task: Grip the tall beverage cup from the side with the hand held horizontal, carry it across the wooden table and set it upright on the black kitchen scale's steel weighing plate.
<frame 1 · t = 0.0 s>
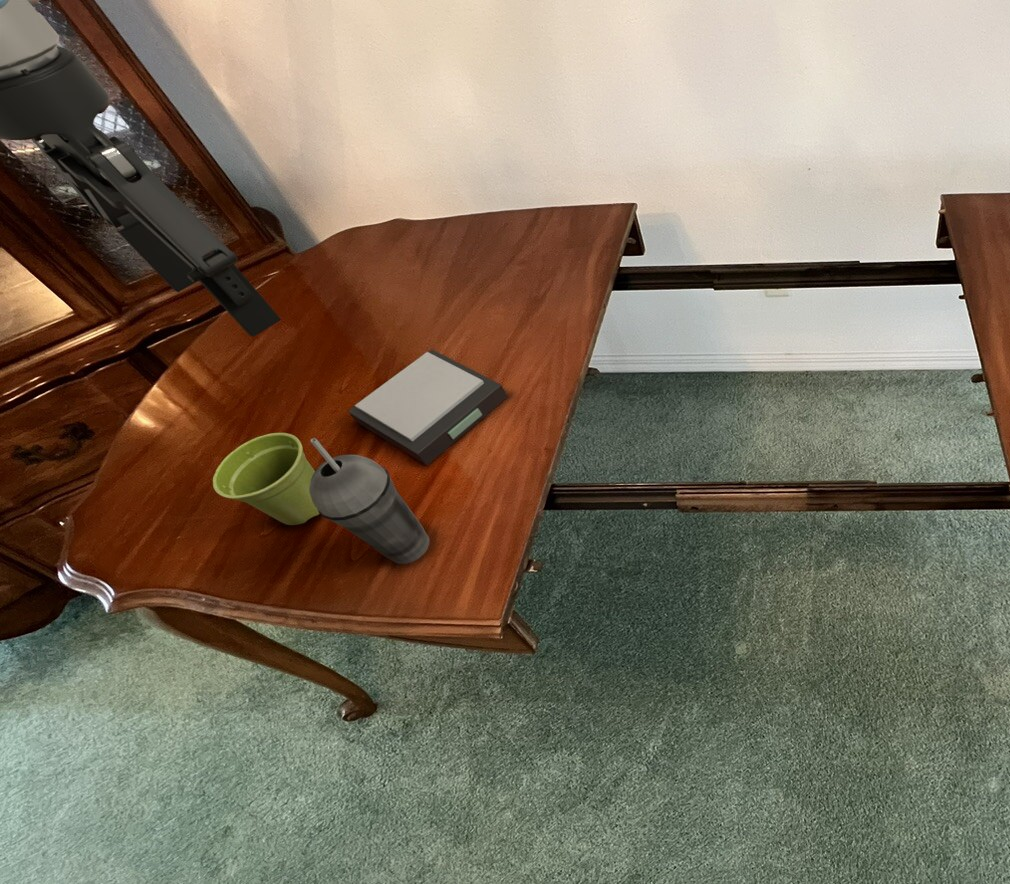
hand: (226, 304, 63), 29 cm above the table, tool pointing down, fingers open, 13 cm apart
beverage cup: (410, 548, 79), on the table
plant pot: (306, 506, 84), on the table
scale: (433, 410, 93), on the table
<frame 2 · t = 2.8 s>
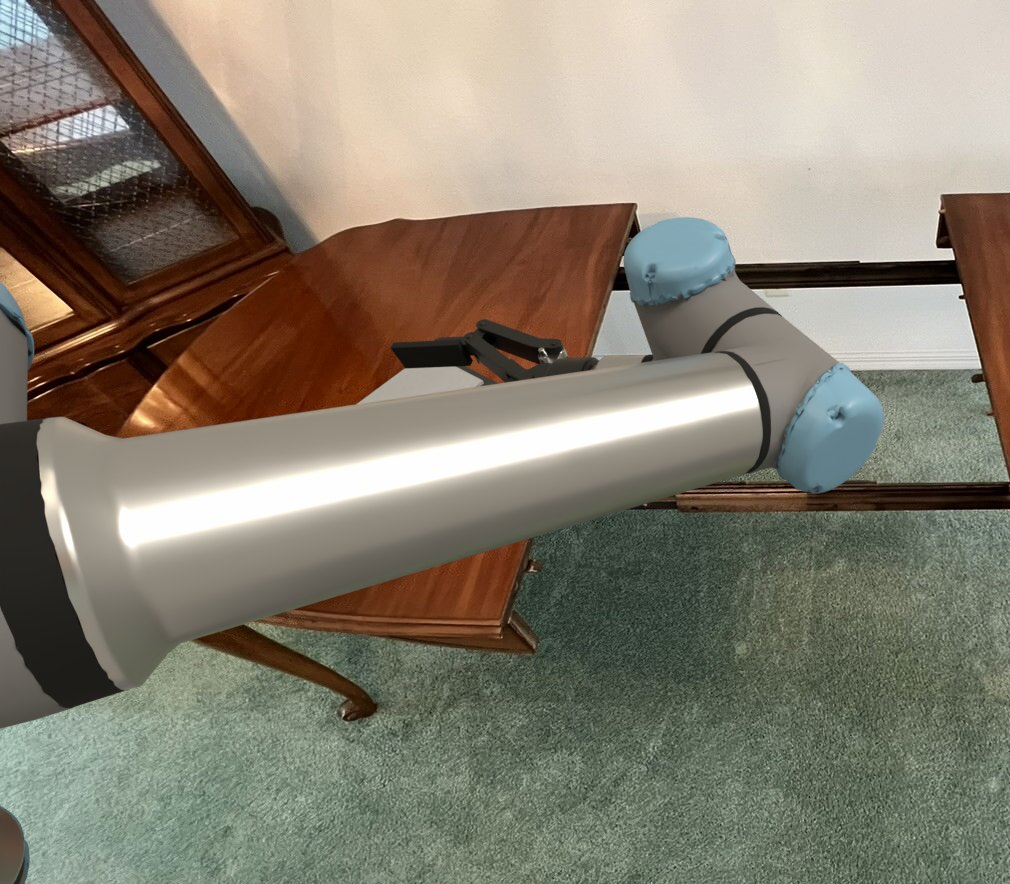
hand: (368, 408, 59), 24 cm above the table, tool horizontal, fingers open, 13 cm apart
nothing on the table moved.
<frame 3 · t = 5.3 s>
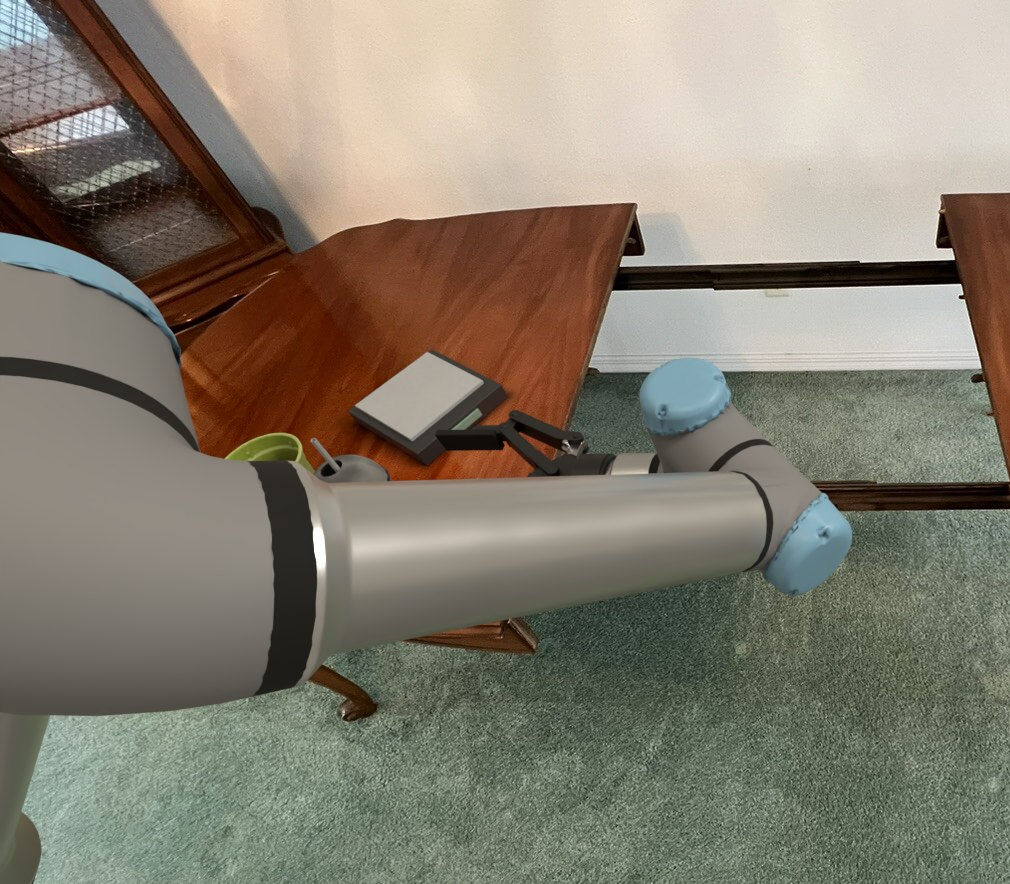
hand: (416, 490, 69), 11 cm above the table, tool horizontal, fingers open, 13 cm apart
nothing on the table moved.
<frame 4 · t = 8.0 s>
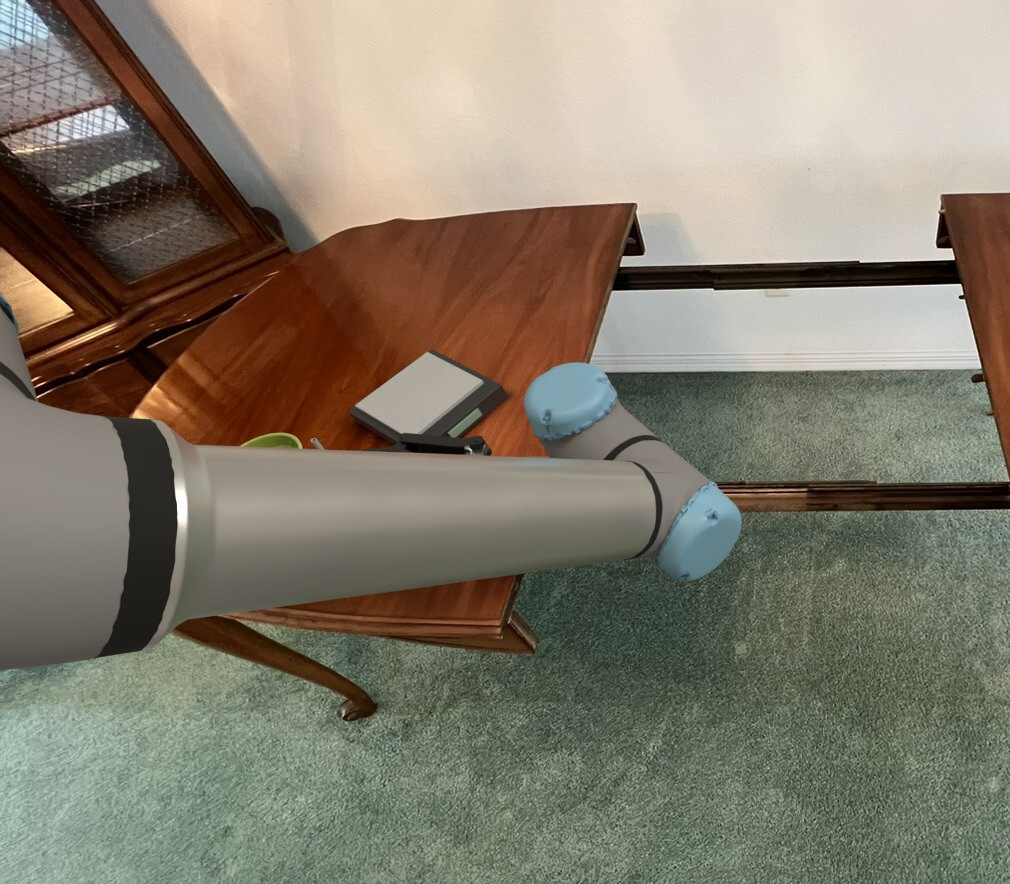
hand: (312, 493, 70), 11 cm above the table, tool horizontal, fingers closed on beverage cup, 7 cm apart
beverage cup: (410, 548, 79), on the table, touching gripper
everything else where it was.
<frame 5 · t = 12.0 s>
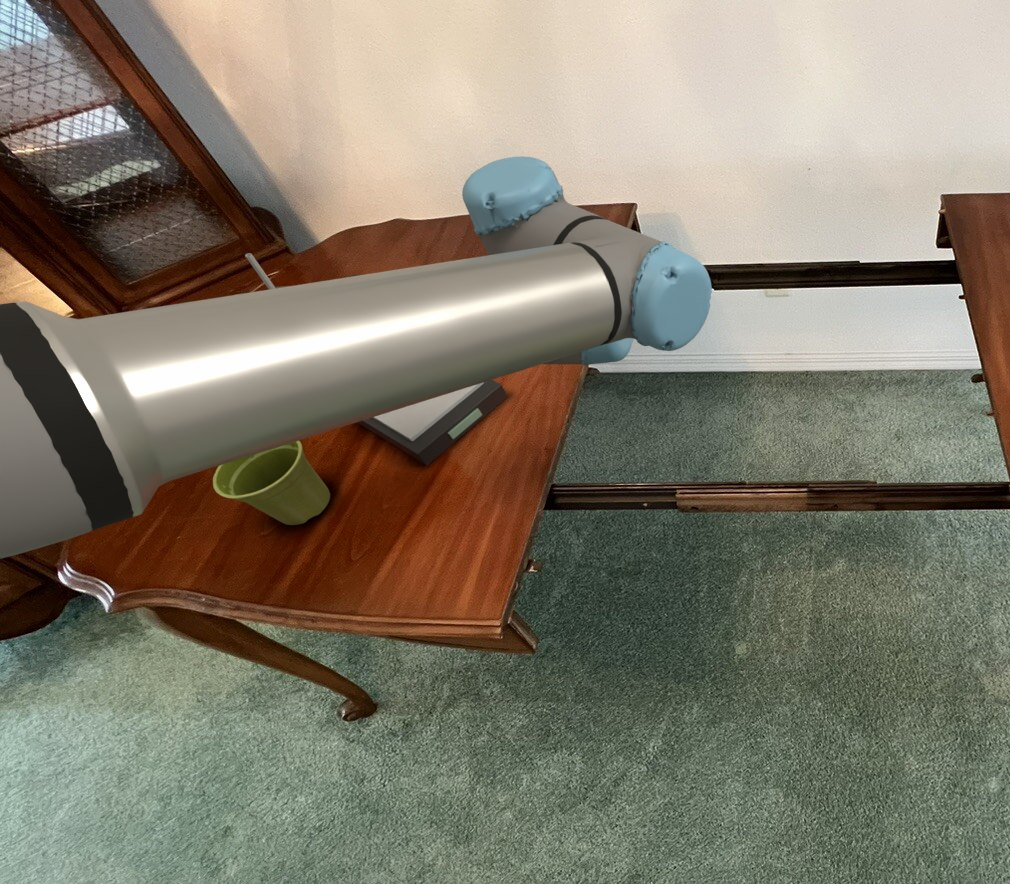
hand: (254, 331, 67), 24 cm above the table, tool horizontal, fingers closed on beverage cup, 7 cm apart
beverage cup: (364, 405, 75), point 13 cm above the table, touching gripper
everything else where it was.
when the fingers open (14 cm above the table, at t = 16.3 s): beverage cup stays where it is, resting on scale.
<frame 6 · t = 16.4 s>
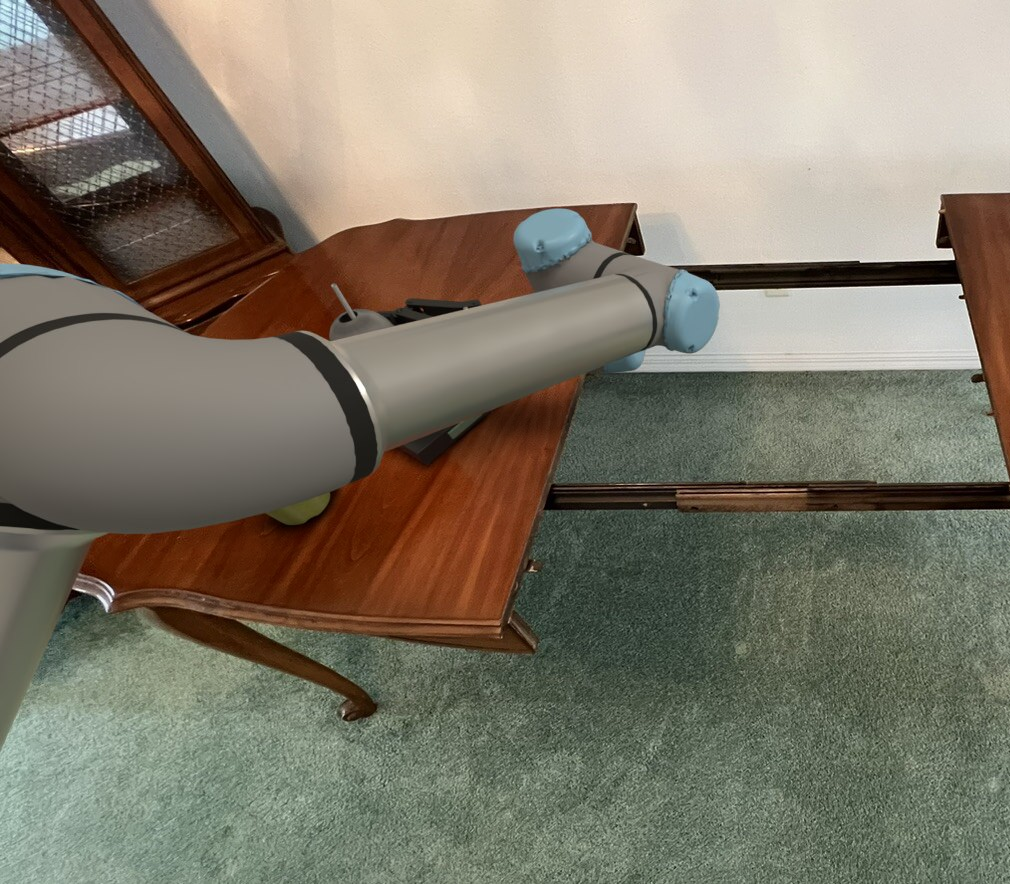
hand: (331, 346, 81), 14 cm above the table, tool horizontal, fingers open, 7 cm apart
beverage cup: (416, 407, 89), point 3 cm above the table, touching scale
everything else where it was.
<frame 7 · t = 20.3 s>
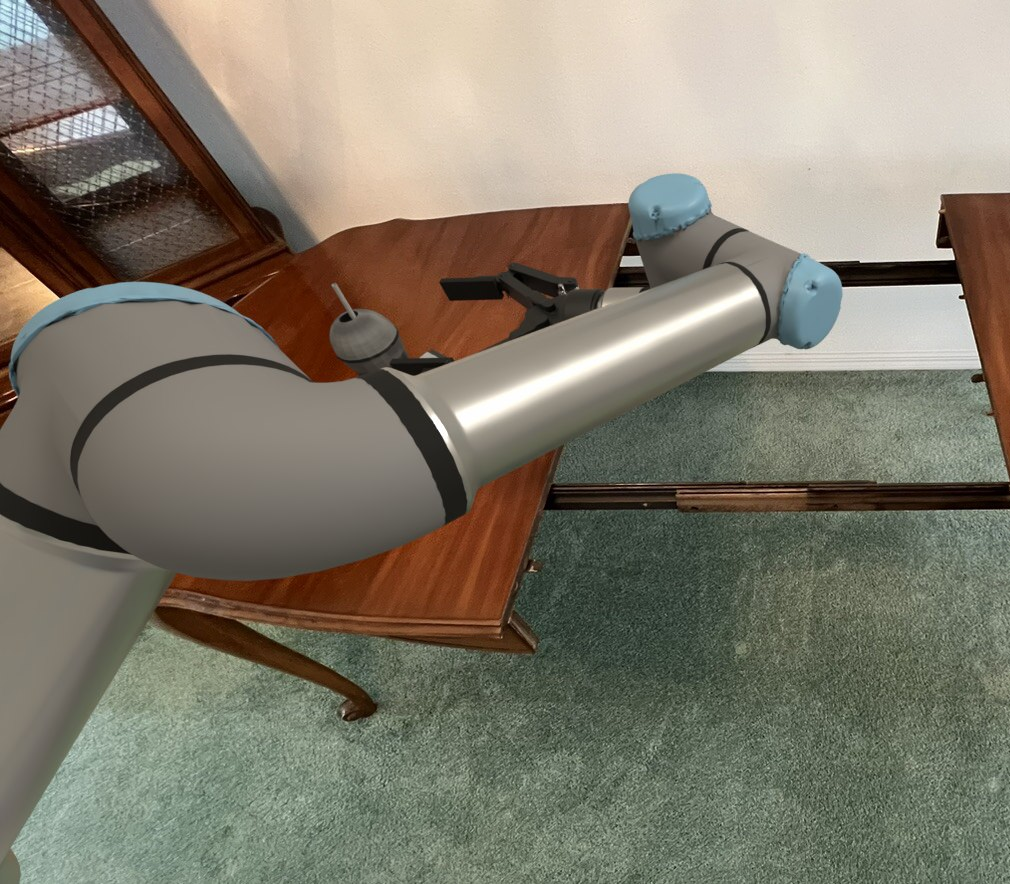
hand: (422, 327, 75), 19 cm above the table, tool horizontal, fingers open, 13 cm apart
nothing on the table moved.
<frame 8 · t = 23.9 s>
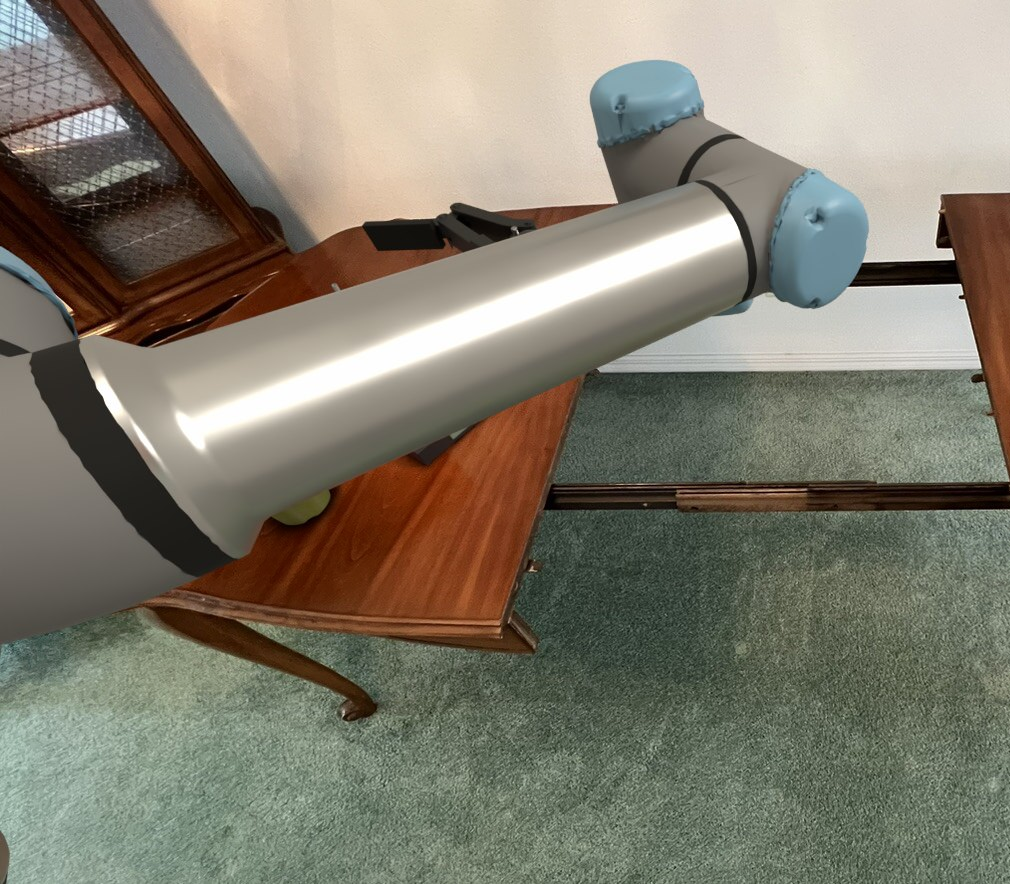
hand: (336, 281, 58), 32 cm above the table, tool horizontal, fingers open, 13 cm apart
nothing on the table moved.
at the end: beverage cup inside the target area on the scale (1.0 cm from its centre), point 2.9 cm above the scale's base; beverage cup tilted 0°; the gripper is holding nothing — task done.
